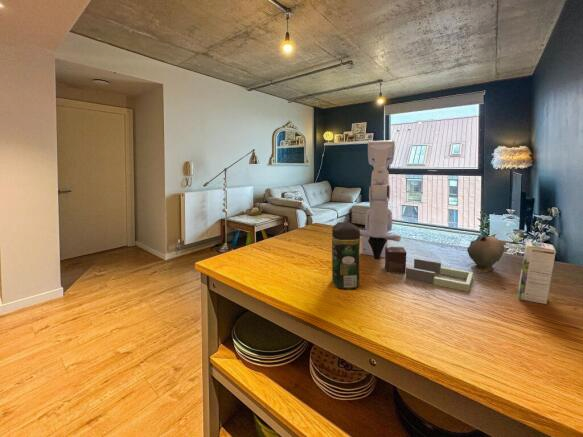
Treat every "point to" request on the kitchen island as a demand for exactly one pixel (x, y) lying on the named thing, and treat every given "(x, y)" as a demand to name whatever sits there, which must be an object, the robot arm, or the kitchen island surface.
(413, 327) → the kitchen island surface
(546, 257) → the syrup box
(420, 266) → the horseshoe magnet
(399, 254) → the box
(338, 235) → the coffee jar
